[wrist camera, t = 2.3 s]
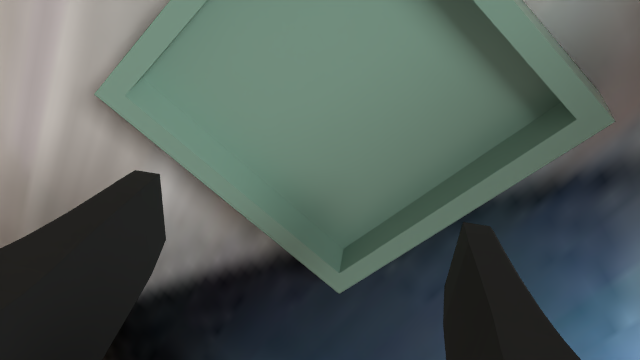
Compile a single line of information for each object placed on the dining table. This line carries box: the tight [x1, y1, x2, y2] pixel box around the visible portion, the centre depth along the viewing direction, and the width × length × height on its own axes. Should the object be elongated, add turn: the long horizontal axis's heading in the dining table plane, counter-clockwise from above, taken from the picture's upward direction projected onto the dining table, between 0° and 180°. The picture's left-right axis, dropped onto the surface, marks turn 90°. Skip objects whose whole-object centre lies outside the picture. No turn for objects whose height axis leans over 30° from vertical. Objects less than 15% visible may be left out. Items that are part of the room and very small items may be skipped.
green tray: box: [95, 0, 615, 294], centre depth 20 cm, size 12×12×2 cm
